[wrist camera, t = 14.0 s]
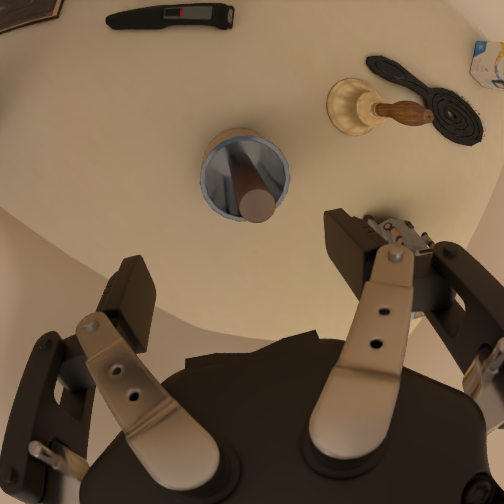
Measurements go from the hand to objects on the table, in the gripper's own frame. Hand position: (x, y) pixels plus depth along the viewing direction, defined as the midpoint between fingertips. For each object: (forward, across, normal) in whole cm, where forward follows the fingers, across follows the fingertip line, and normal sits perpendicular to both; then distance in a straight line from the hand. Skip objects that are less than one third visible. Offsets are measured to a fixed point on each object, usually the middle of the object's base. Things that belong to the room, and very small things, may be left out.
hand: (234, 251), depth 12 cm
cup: (+26, -2, +2) cm, 26 cm away
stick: (+26, -2, +2) cm, 26 cm away
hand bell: (+26, -19, -3) cm, 33 cm away
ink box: (+26, -49, -12) cm, 57 cm away
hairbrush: (+26, -33, -4) cm, 42 cm away
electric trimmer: (+26, +2, -19) cm, 33 cm away
